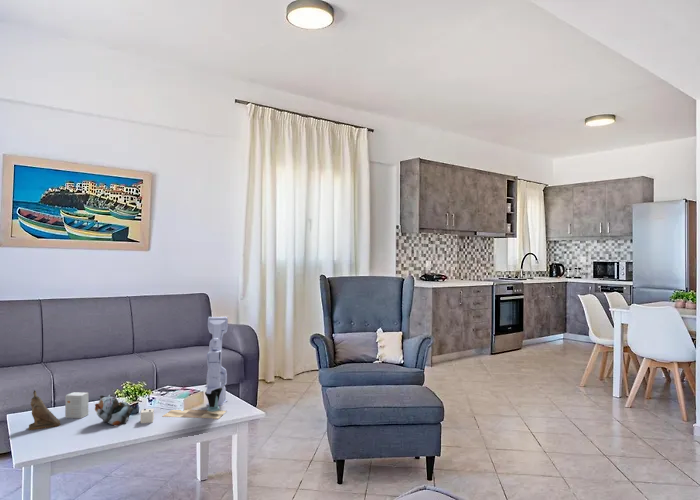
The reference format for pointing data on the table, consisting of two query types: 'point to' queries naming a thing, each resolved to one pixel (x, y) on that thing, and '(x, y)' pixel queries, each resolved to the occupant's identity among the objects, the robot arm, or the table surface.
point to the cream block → (147, 415)
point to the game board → (194, 414)
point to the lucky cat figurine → (113, 410)
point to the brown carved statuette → (41, 415)
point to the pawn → (216, 407)
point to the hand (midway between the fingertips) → (213, 405)
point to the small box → (76, 405)
